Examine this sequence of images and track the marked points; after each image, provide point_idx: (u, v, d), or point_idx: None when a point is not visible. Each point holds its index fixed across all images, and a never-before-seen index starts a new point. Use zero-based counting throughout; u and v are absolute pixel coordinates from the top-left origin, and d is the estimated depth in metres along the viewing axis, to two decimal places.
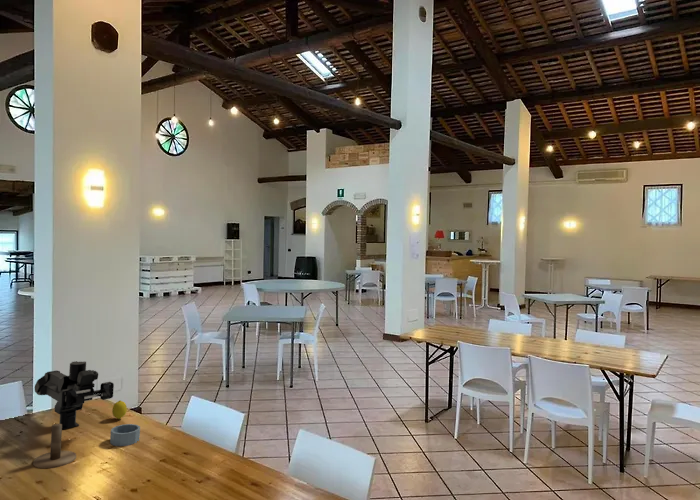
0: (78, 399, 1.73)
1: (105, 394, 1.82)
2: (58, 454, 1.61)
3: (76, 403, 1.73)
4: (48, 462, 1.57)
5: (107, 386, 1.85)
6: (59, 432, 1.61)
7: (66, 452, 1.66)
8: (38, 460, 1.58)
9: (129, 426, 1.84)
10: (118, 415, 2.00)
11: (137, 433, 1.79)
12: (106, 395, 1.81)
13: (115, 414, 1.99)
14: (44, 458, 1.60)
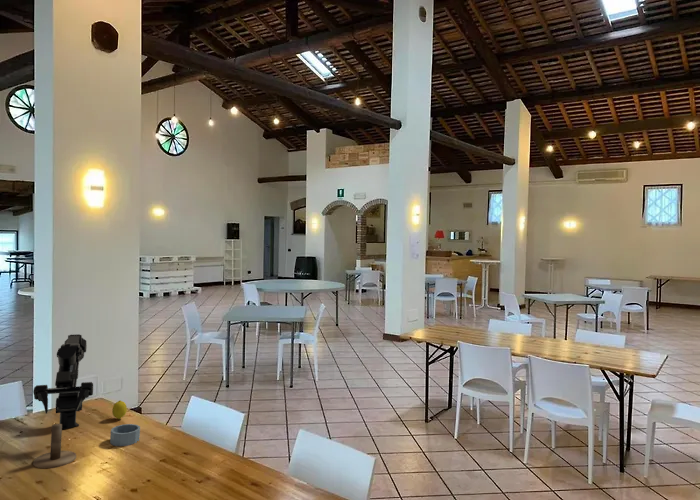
0: (44, 406, 1.68)
1: None
2: (58, 454, 1.61)
3: None
4: (48, 462, 1.57)
5: (83, 391, 1.74)
6: (59, 432, 1.61)
7: (66, 452, 1.66)
8: (38, 460, 1.58)
9: (129, 426, 1.84)
10: (118, 415, 2.00)
11: (137, 433, 1.79)
12: (76, 404, 1.73)
13: (115, 414, 1.99)
14: (44, 458, 1.60)
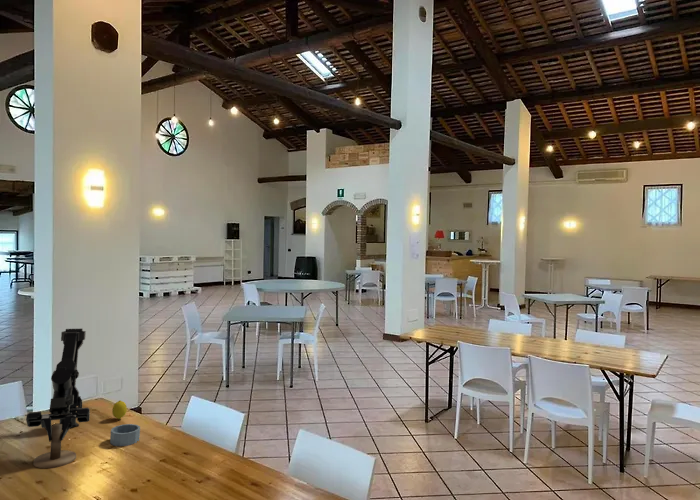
0: None
1: (63, 429, 1.63)
2: (58, 454, 1.61)
3: None
4: (48, 462, 1.57)
5: (69, 419, 1.64)
6: (59, 432, 1.61)
7: (66, 452, 1.66)
8: (38, 460, 1.58)
9: (129, 426, 1.84)
10: (118, 415, 2.00)
11: (137, 433, 1.79)
12: (62, 432, 1.62)
13: (115, 414, 1.99)
14: (44, 458, 1.60)
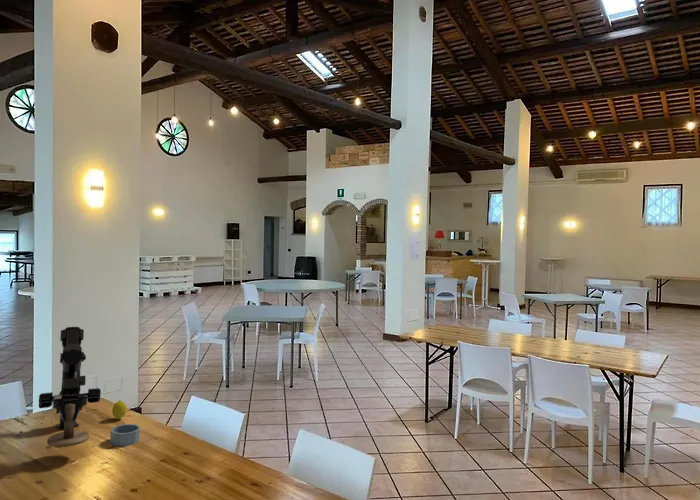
0: (61, 413, 1.62)
1: (75, 409, 1.65)
2: (72, 433, 1.63)
3: (60, 414, 1.63)
4: (63, 441, 1.60)
5: (82, 399, 1.66)
6: (73, 411, 1.63)
7: (77, 432, 1.68)
8: (52, 440, 1.60)
9: (129, 426, 1.84)
10: (118, 415, 2.00)
11: (137, 433, 1.79)
12: (75, 412, 1.65)
13: (115, 414, 1.99)
14: (57, 438, 1.62)
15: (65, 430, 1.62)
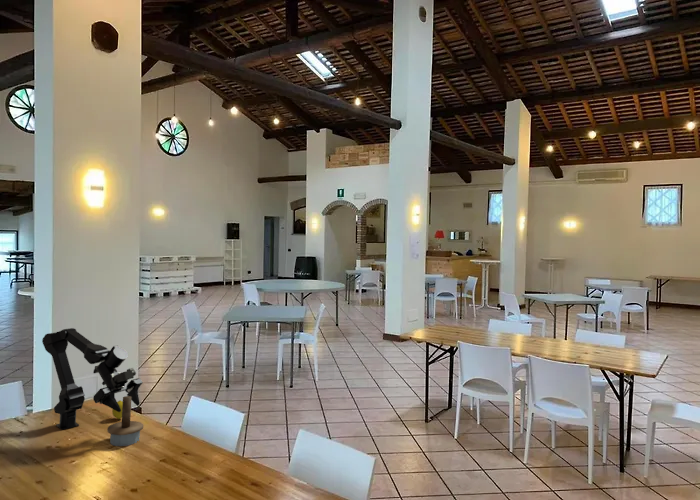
0: (115, 405, 1.75)
1: (133, 397, 1.85)
2: (130, 422, 1.80)
3: (111, 406, 1.76)
4: (128, 429, 1.77)
5: (138, 387, 1.86)
6: None
7: None
8: (116, 431, 1.75)
9: None
10: (118, 415, 2.00)
11: (137, 433, 1.79)
12: (135, 399, 1.84)
13: (115, 414, 1.99)
14: (117, 429, 1.77)
15: (125, 420, 1.79)
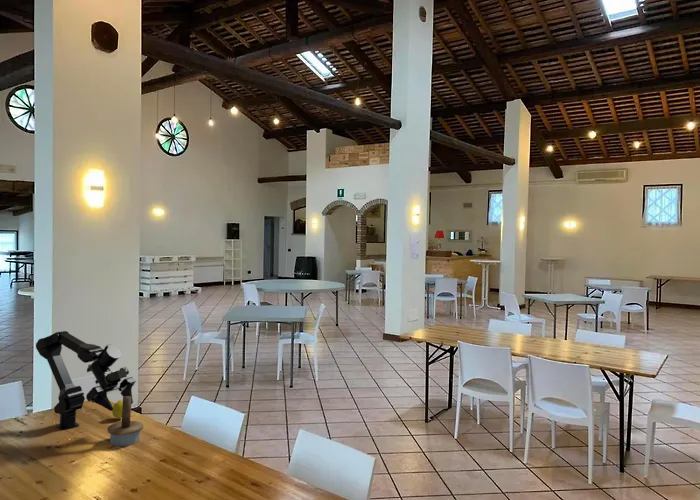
0: (107, 404, 1.76)
1: (127, 395, 1.86)
2: (130, 422, 1.80)
3: (103, 405, 1.77)
4: (128, 429, 1.77)
5: (131, 386, 1.88)
6: None
7: None
8: (116, 431, 1.75)
9: None
10: (118, 415, 2.00)
11: (137, 433, 1.79)
12: None
13: (115, 414, 1.99)
14: (117, 429, 1.77)
15: (125, 420, 1.79)
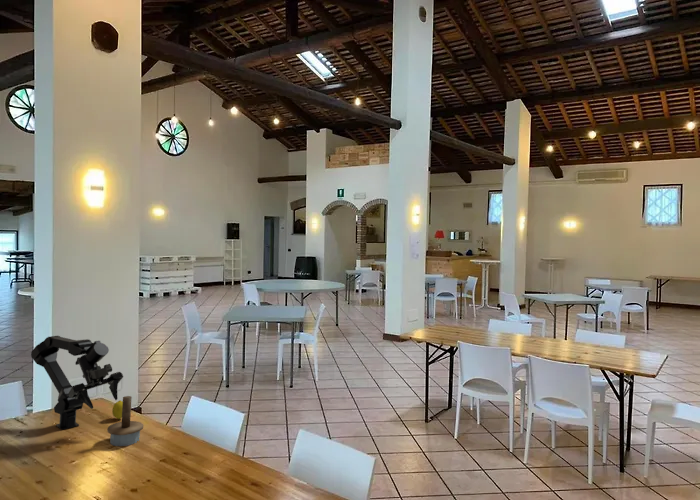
0: (88, 402, 1.78)
1: (113, 391, 1.87)
2: (130, 422, 1.80)
3: (85, 402, 1.79)
4: (128, 429, 1.77)
5: (117, 382, 1.88)
6: None
7: None
8: (116, 431, 1.75)
9: None
10: (118, 415, 2.00)
11: (137, 433, 1.79)
12: (113, 394, 1.86)
13: (115, 414, 1.99)
14: (117, 429, 1.77)
15: (125, 420, 1.79)
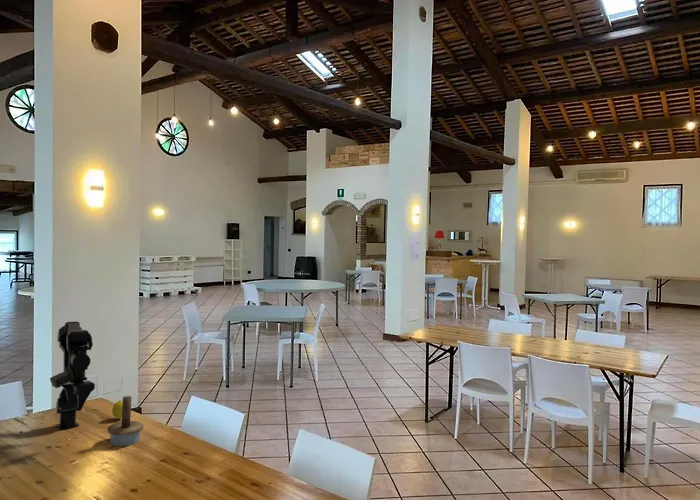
0: None
1: None
2: (130, 422, 1.80)
3: None
4: (128, 429, 1.77)
5: (76, 394, 1.73)
6: None
7: None
8: (116, 431, 1.75)
9: None
10: (118, 415, 2.00)
11: (137, 433, 1.79)
12: None
13: (115, 414, 1.99)
14: (117, 429, 1.77)
15: (125, 420, 1.79)
